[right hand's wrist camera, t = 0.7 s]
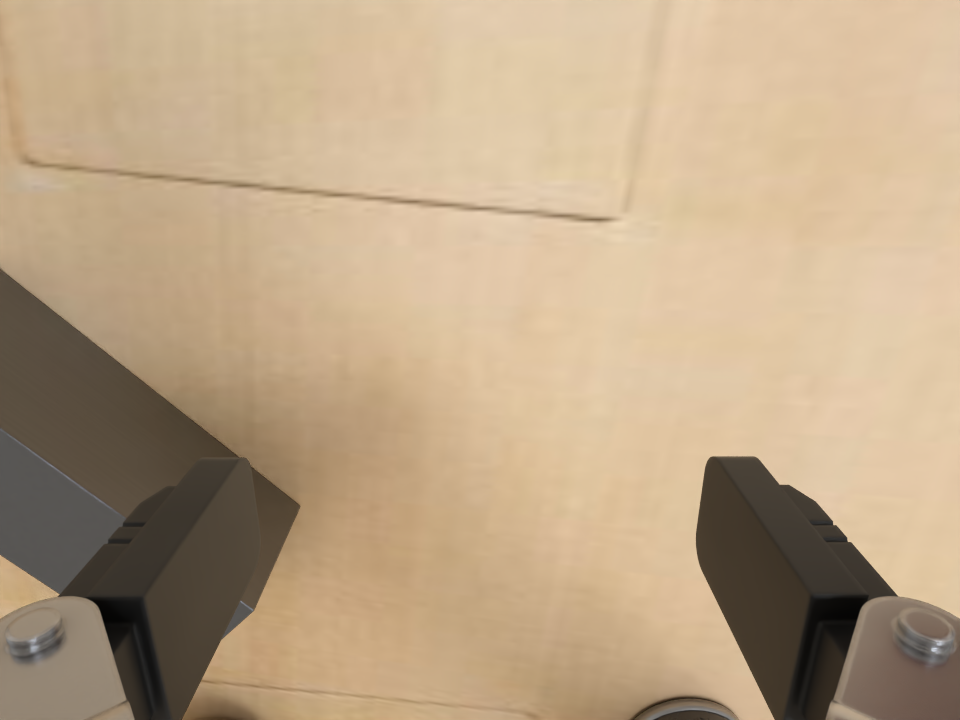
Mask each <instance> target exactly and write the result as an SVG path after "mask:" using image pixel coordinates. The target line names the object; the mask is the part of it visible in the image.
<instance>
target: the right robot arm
mask: <svg viewBox="0 0 960 720" xmlns="http://www.w3.org/2000/svg"><path fill="white" fill-rule="evenodd" d="M260 546H261V535H260V527H259V519H258V512H257V505H256V498H255V491H254V484H253V477H252V470H251V466H250V463H249V461H248V460H247V459H246V458H200V459H198V460H197V461H196V463H195V464H194V465H193V466H192V468H191V469H190V470H189V471H188V472H187V474H186V475H185V476H184V477H183V479H182V480H181V481H180V482H179V483H178V485H177V486H166V487H165V488H163V489H162V490H160V491H159V492H157V493H155V494H154V495H152V496H151V497H149V498H147V499H146V500H144V501H143V502H141V503H140V504H139V505H138V506H137V507H136V508H135V509H134V511H133V512H132V513H131V514H130V515H129V516H128V517H127V518H126V520H125V521H124V522H123V526H122V527H119V528H118V529H117V530H116V531H115V532H114V533H113V534H112V536H111V537H110V538H109V539H108V544H104V545H103V546H102V547H101V548H100V549H99V550H98V552H97V553H96V554H95V555H94V556H93V557H92V558H91V559H90V561H89V562H88V563H87V564H86V565H85V566H84V567H83V569H82V570H81V571H80V572H79V573H78V574H77V575H76V577H75V578H74V579H73V580H72V581H71V582H70V583H69V585H68V586H67V587H66V588H65V589H64V590H63V591H62V592H61V594H60V595H59V596H58V597H55V598H50V599H45V600H41V601H38V602H35V603H32V604H29V605H27V606H24V607H22V608H19V609H17V610H15V611H13V612H11V613H9V614H8V615H6V616H4V617H3V618H1V619H0V720H182V718H183V716H184V714H185V712H186V710H187V708H188V706H189V704H190V702H191V700H192V698H193V696H194V694H195V692H196V690H197V688H198V686H199V684H200V682H201V679H202V677H203V675H204V673H205V671H206V669H207V667H208V665H209V663H210V661H211V659H212V657H213V655H214V653H215V651H216V649H217V647H218V645H219V643H220V641H221V639H222V637H223V635H224V633H225V631H226V629H227V627H228V625H229V623H230V621H231V619H232V617H233V615H234V613H235V611H236V609H237V607H238V605H239V603H240V601H241V599H242V597H243V595H244V593H245V590H246V588H247V586H248V584H249V582H250V580H251V578H252V576H253V574H254V572H255V570H256V567H257V564H258V560H259V555H260ZM696 549H697V556H698V560H699V564H700V567H701V570H702V572H703V574H704V576H705V578H706V580H707V582H708V584H709V586H710V588H711V590H712V592H713V594H714V596H715V598H716V600H717V602H718V605H719V607H720V609H721V611H722V613H723V615H724V617H725V619H726V621H727V623H728V625H729V627H730V629H731V631H732V633H733V635H734V637H735V639H736V641H737V643H738V645H739V648H740V650H741V652H742V654H743V656H744V658H745V660H746V662H747V664H748V666H749V668H750V670H751V672H752V674H753V676H754V678H755V680H756V682H757V684H758V686H759V688H760V691H761V693H762V695H763V697H764V699H765V701H766V703H767V705H768V707H769V709H770V711H771V713H772V715H773V717H774V719H775V720H960V619H959V618H957V617H956V616H954V615H952V614H951V613H949V612H947V611H945V610H943V609H941V608H938V607H936V606H933V605H931V604H928V603H925V602H922V601H919V600H915V599H910V598H905V597H898V596H897V595H896V593H895V592H894V591H893V590H892V589H891V588H890V586H889V585H888V584H887V583H886V582H885V581H884V580H883V578H882V577H881V576H880V575H879V574H878V573H877V572H876V570H875V569H874V568H873V567H872V566H871V565H870V563H869V562H868V561H867V560H866V559H865V558H864V557H863V555H862V554H861V553H860V552H859V551H858V550H857V549H856V547H855V546H854V545H853V544H852V543H851V542H848V541H847V537H846V536H845V535H844V534H843V532H842V531H841V530H840V529H839V528H838V527H837V526H836V525H833V521H832V520H831V519H830V518H829V516H828V515H827V514H826V513H825V512H824V511H823V510H822V508H821V507H820V506H819V505H818V504H817V503H816V502H815V501H814V500H812V499H811V498H809V497H807V496H806V495H804V494H803V493H801V492H799V491H798V490H796V489H795V488H793V487H791V486H790V485H779V484H778V482H777V481H776V480H775V479H774V477H773V476H772V475H771V474H770V472H769V471H768V470H767V469H766V468H765V466H764V465H763V464H762V463H761V461H760V460H759V459H758V458H756V457H710V458H709V460H708V461H707V464H706V467H705V473H704V480H703V487H702V494H701V501H700V509H699V516H698V523H697V531H696ZM634 720H739V719H738V718H737V717H736V715H735V714H734V713H732V712H731V711H730V710H729V709H727V708H726V707H724V706H722V705H720V704H717V703H714V702H711V701H707V700H702V699H677V700H672V701H667V702H664V703H661V704H658V705H656V706H653V707H651V708H649V709H648V710H646V711H644V712H643V713H641V714H640V715H639V716H637V717H636V718H635V719H634Z"/></svg>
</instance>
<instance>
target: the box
mask: <svg viewBox="0 0 960 720" xmlns="http://www.w3.org/2000/svg"><path fill="white" fill-rule="evenodd" d="M200 458H239V457H238V456H236V455H235V454H234V453H232V452H231V451H230V450H229V449H227V448H226V447H225V446H224V445H222V444H221V443H220V442H219V441H217V440H216V439H215V438H213V437H212V436H211V435H210V434H208V433H207V432H206V431H205V430H203V429H202V428H201V427H199V426H198V425H197V424H196V423H194V422H193V421H192V420H191V419H189V418H188V417H187V416H186V415H184V414H183V413H182V412H180V411H179V410H178V409H177V408H175V407H174V406H173V405H172V404H170V403H169V402H168V401H166V400H165V399H164V398H163V397H161V396H160V395H159V394H158V393H156V392H155V391H154V390H153V389H151V388H150V387H149V386H147V385H146V384H145V383H144V382H142V381H141V380H140V379H139V378H137V377H136V376H135V375H134V374H132V373H131V372H130V371H128V370H127V369H126V368H125V367H123V366H122V365H121V364H120V363H118V362H117V361H116V360H114V359H113V358H112V357H111V356H109V355H108V354H107V353H106V352H104V351H103V350H102V349H101V348H99V347H98V346H97V345H95V344H94V343H93V342H92V341H90V340H89V339H88V338H87V337H85V336H84V335H83V334H81V333H80V332H79V331H78V330H76V329H75V328H74V327H73V326H71V325H70V324H69V323H68V322H66V321H65V320H64V319H62V318H61V317H60V316H59V315H57V314H56V313H55V312H54V311H52V310H51V309H50V308H48V307H47V306H46V305H45V304H43V303H42V302H41V301H40V300H38V299H37V298H36V297H35V296H33V295H32V294H31V293H29V292H28V291H27V290H26V289H24V288H23V287H22V286H21V285H19V284H18V283H17V282H15V281H14V280H13V279H12V278H10V277H9V276H8V275H7V274H5V273H4V272H3V271H2V270H0V555H1V556H3V557H4V558H6V559H7V560H9V561H10V562H12V563H13V564H15V565H16V566H18V567H19V568H21V569H22V570H24V571H25V572H27V573H28V574H30V575H31V576H33V577H34V578H36V579H37V580H39V581H40V582H42V583H43V584H45V585H46V586H48V587H50V588H51V589H53V590H54V591H56V592H57V593H59V594H61V592H62V591H63V590H64V589H65V588H66V587H67V586H68V585H69V583H70V582H71V581H72V580H73V579H74V578H75V577H76V575H77V574H78V573H79V572H80V571H81V570H82V569H83V567H84V566H85V565H86V564H87V563H88V562H89V561H90V559H91V558H92V557H93V556H94V555H95V554H96V553H97V552H98V550H99V549H100V548H101V547H102V546H103V545H104V544H108V539H109V538H110V537H111V536H112V534H113V533H114V532H115V531H116V530H117V529H118V528H119V527H122V526H123V522H124V521H125V520H126V518H127V517H128V516H129V515H130V514H131V513H132V512H133V511H134V509H135V508H136V507H137V506H138V505H139V504H140V503H141V502H143V501H144V500H146V499H147V498H149V497H151V496H152V495H154V494H155V493H157V492H159V491H160V490H162V489H163V488H165V487H166V486H177V485H178V483H179V482H180V481H181V480H182V479H183V477H184V476H185V475H186V474H187V472H188V471H189V470H190V469H191V468H192V466H193V465H194V464H195V463H196V461H197V460H198V459H200ZM251 470H252V477H253V484H254V491H255V498H256V505H257V512H258V519H259V527H260V535H261V546H260V555H259V560H258V564H257V567H256V570H255V572H254V574H253V576H252V578H251V580H250V582H249V584H248V586H247V588H246V590H245V593H244V595H243V597H242V599H241V601H240V603H239V605H238V607H237V609H236V611H235V613H234V615H233V617H232V619H231V621H230V623H229V625H228V627H227V629H226V631H225V633H224V635H223V637H222V639H223V638H224V637H225V636H226V635H227V634H228V633H229V632H231V631H232V630H233V629H234V628H235V627H236V626H237V625H238V624H240V623H241V622H242V621H243V620H244V619H245V618H246V617H247V616H249V615H250V614H251V613H252V612H253V611H254V609H255V607H256V605H257V603H258V601H259V598H260V596H261V594H262V592H263V589H264V587H265V585H266V583H267V580H268V578H269V576H270V574H271V571H272V569H273V567H274V565H275V562H276V560H277V558H278V556H279V553H280V551H281V549H282V547H283V544H284V542H285V540H286V538H287V535H288V533H289V531H290V529H291V526H292V524H293V522H294V520H295V517H296V515H297V513H298V511H299V509H300V505H298V504H297V503H296V502H295V501H293V500H292V499H291V498H290V497H288V496H287V495H286V494H285V493H283V492H282V491H281V490H279V489H278V488H277V487H276V486H274V485H273V484H272V483H271V482H269V481H268V480H267V479H265V478H264V477H263V476H262V475H260V474H259V473H258V472H257V471H255V470H254V469H253V468H252V467H251ZM222 639H221V640H222Z"/></svg>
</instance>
